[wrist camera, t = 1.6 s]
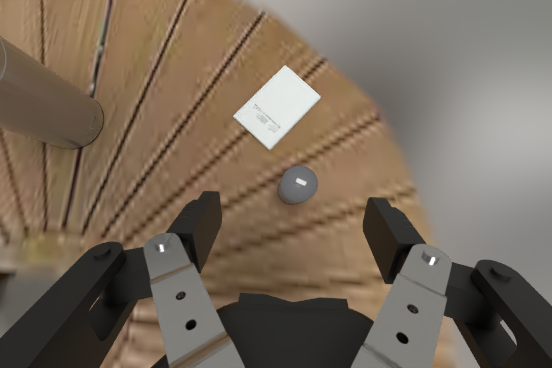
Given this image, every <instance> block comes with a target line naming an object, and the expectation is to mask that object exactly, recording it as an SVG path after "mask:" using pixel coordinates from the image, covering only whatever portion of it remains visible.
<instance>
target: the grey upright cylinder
mask: <svg viewBox="0 0 552 368" xmlns="http://www.w3.org/2000/svg"><path fill="white" fill-rule="evenodd" d="M317 186H318V181H317V178H316V175H315V174H314V172H313V171H312V170H311V169H309V168H307V167H305V166H294V167H291V168H290V169H288V170H287V171H286V172H285V174H284V175H283V177H282V179H281V182H280V184H279V186H278V195H279V197H280V199H281V200H282V201H283V202H284V203H287V204H297V203H300V202H303V201H306V200H308V199H310V198H311V197H312V196H313V195H314V194H315V192H316V190H317Z"/></svg>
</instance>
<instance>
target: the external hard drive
mask: <svg viewBox="0 0 552 368" xmlns="http://www.w3.org/2000/svg"><path fill="white" fill-rule="evenodd" d="M320 98H321V97H320V96H319V95H318V94H317V93H316V92H315V91H314V90H313V89H312V88H311V87H310V86H308V85H307V84H306V83H305V82H304V81H303V80H302V79H301V78H300V77H298V76H297V75H296V74H295V73H294V72H293V71H292V70H291V69H289V68H288V67H287V66H286V65H285V66H284V67H283V68H282V69H281V70H279V71H278V72H277V73H276V74H275V75H274V76H273V77H272V78H271V79H270V80H269V81H268V82H267V83H266V84H265V85H264V86H263V87H262V88H261V89H260V90H259V91H258V92H257V93H256V94H255V95H254V96H253V97H252V98H251V99H250V100H249V101H248V102H247V103H246V104H245V105H244V106H243V107H242V108H241V109H240V110H239V111H238V112H237V113H236V114H235V115H234V116H233V118H234V119H235V120H236V121H237V122H239V123H240V124H241V125H242V126H243V127H244V128H245V129H246V130H247V131H249V132H250V133H251V134H252V135H253V136H254V137H255V138H256V139H257V140H258V141H259V142H260V143H261V144H262V145H263V146H264V147H266V148H267V149H268V150H269V151H270V150H271V149H272V148H273V147H274V146H275V145H276V144H277V143H278V142H279V141H280V140H281V139H282V138H283V137H284V136H285V135H286V134H287V133H288V132H289V131H290V130H291V129H292V128H293V127H294V126H295V125H296V124H297V123H298V122H299V120H300V119H301V118H302V117H303V116H304V115H305V114H306V113H307V112H308V111H309V110H310V109H311V108H312V107H313V106H314V105H315V104H316V103H317V102H318V101H319V100H320Z"/></svg>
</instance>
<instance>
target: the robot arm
mask: <svg viewBox="0 0 552 368" xmlns="http://www.w3.org/2000/svg"><path fill="white" fill-rule="evenodd" d="M102 125H103V112H102V109H101V107H100V105H99V104H98V103H97V102H96V101H95V100H94V99H93V98H91V97H90V96H88V95H87V94H85V93H84V92H82V91H81V90H79V89H78V88H77V87H75V86H74V85H72V84H71V83H69V82H68V81H66V80H65V79H63V78H62V77H60V76H59V75H57V74H56V73H54V72H53V71H51V70H50V69H48V68H47V67H45V66H44V65H42V64H41V63H39V62H38V61H37V60H35V59H34V58H32V57H31V56H29V55H28V54H26V53H25V52H23V51H22V50H20V49H19V48H17V47H16V46H14V45H13V44H11V43H10V42H8V41H7V40H5V39H4V38H2V37H1V36H0V128H3V129H6V130H9V131H12V132H15V133H18V134H21V135H24V136H27V137H30V138H33V139H36V140H39V141H42V142H45V143H48V144H52V145H55V146H58V147H61V148H65V149H75V148H80V147H83V146H85V145H87V144H89V143H90V142H92V141H93V140H94V139H95V138H96V137H97V135H98V134H99V133H100V131H101V128H102ZM221 223H222V212H221V204H220V196H219V192H216V191H204V192H203V193H202V194H201V196H200V197H199V199H198V200H193V201H191V202H190V203H188V204H187V205H186V206H185V207H184V208H183V210H182V212H180V214H179V215H178V217H177V218H176V219H175V221H174V222H173V223H172V225H171V226H170V227H169V229H168V230H167V231H166V233H163V234H159V235H156V236H154V237H152V238H151V239H149V240H148V241H147V242H146V243H145V245H144V247H141V248H136V249H130V250H124V249H123V247H122V245H121V244H120V243H118V242H106V243H102V244H99V245H97V246H95V247H93V248H91V249H90V250H88V251H87V252H86V253H85V254H84V255H83V256H82V257H81V258H80V259H79V260H78V261H77V262H76V263H75V264H74V265H73V266H72V267H71V268H70V269H69V270H68V271H67V272H66V273H65V274H64V275H63V276H62V277H61V278H60V279H59V280H58V281H57V282H56V283H55V284H54V285H53V286H52V287H51V288H50V289H49V290H48V291H47V292H46V293H45V294H44V295H43V296H42V297H41V298H40V299H39V300H38V301H37V302H36V303H35V304H34V305H33V306H32V307H31V308H30V309H29V310H28V311H27V312H26V313H25V314H24V315H23V316H22V317H21V318H20V319H19V320H18V321H17V322H16V323H15V324H14V325H13V326H12V327H11V328H10V329H9V330H8V331H7V332H6V333H5V334H4V335H3V336H2V337H1V338H0V368H99V367H100V366H101V364H102V362H103V360H104V359H105V357H106V355H107V353H108V352H109V350H110V348H111V346H112V345H113V343H114V341H115V339H116V338H117V336H118V334H119V332H120V331H121V329H122V327H123V326H124V324H125V322H126V320H127V319H128V317H129V315H130V313H131V312H132V310H133V308H134V306H135V305H136V303H137V301H138V300H140V299H144V298H148V297H153V299H154V303H155V307H156V312H157V316H158V320H159V325H160V329H161V333H162V338H163V342H164V346H165V351H166V354H165V355H164V356H163V357H162V358H161V359H160V360H159V361H158V362H157V363H155V364H154V365H153V366H152V367H151V368H432V363H433V359H434V354H435V350H436V346H437V341H438V337H439V332H440V328H441V324H442V319H443V315H444V316H447V317H450V318H453V320H454V322H455V324H456V325H457V327H458V329H459V331H460V332H461V334H462V336H463V338H464V340H465V341H466V343H467V345H468V347H469V348H470V350H471V352H472V354H473V355H474V357H475V359H476V360H477V363H478V364H479V366H480V368H552V306H551V305H550V304H549V303H548V302H547V301H546V300H545V299H544V298H543V297H542V296H541V295H540V294H539V293H538V292H537V291H536V290H535V289H534V288H533V287H532V286H531V285H530V284H529V283H528V282H527V281H526V280H525V279H524V278H523V277H522V276H521V275H520V274H519V273H518V272H516V271H515V270H513V269H512V268H510V267H508V266H506V265H504V264H502V263H499V262H496V261H492V260H480V261H478V262H477V264H476V266H475V268H472V267H468V266H464V265H460V264H457V263H453V262H451V259H450V258H449V256H448V255H447V254H446V253H444V252H443V251H442V250H440V249H438V248H436V247H434V246H431V245H427V244H426V242H425V241H424V240H423V238H422V237H421V236H420V234H419V233H418V232H417V230H416V229H415V228H414V227H413V225H412V224H411V222H410V221H409V220H408V218H407V217H406V216H405V214H404V213H403V212H401V211H400V210H398V209H397V208H395V207H391V205H390V204H389V202H388V201H387V200H386V198H378V197H370V198H369V199H368V201H367V206H366V210H365V215H364V219H363V232H364V235H365V237H366V239H367V242H368V244H369V246H370V249H371V251H372V253H373V256H374V258H375V261H376V263H377V265H378V268H379V270H380V272H381V275H382V277H383V279H384V282H385V284H393V285H392V287H391V289H390V291H389V293H388V295H387V297H386V299H385V301H384V303H383V305H382V307H381V309H380V311H379V313H378V315H377V317H376V319H375V321H373V320H371V319H370V318H368V317H367V316H365V315H363V314H361V313H360V312H357V311H355V310H353V309H349V308H348V303H347V299H337V298H315V299H310V300H304V301H299V302H289V301H286V300H282V299H279V298H276V297H272V296H269V295H265V294H248V293H240V296H239V301H238V302H235V303H231V304H228V305H226V306H223V307H221V308H220V309H218V310H215V308H214V306H213V303H212V301H211V299H210V297H209V295H208V293H207V291H206V288H205V286H204V284H203V282H202V280H201V278H200V276H199V274H198V273H201V271H202V269H203V266H204V264H205V262H206V259H207V257H208V255H209V252H210V250H211V248H212V245H213V243H214V241H215V238H216V236H217V234H218V231H219V229H220V227H221ZM98 297H99V299H98V300H97V301H96V299H97V298H98ZM95 301H96V303H95V304H94V305H93V303H94V302H95ZM92 305H93V307H92V308H91V306H92ZM90 308H91V309H90ZM89 310H90V311H89ZM502 319H503V320H504V322H505V323H506V324H507V326H508V327H509V328H510V329H511V331H512V332H513V334H514V336H515V338H516V341H517V346H516V344H515V343H514V341H513V340H512V339H511V337H510V336H509V335H508V333H507V332H506V331H505V329H504V328H503V327H502V325H501V324H500V322H501V321H502Z"/></svg>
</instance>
